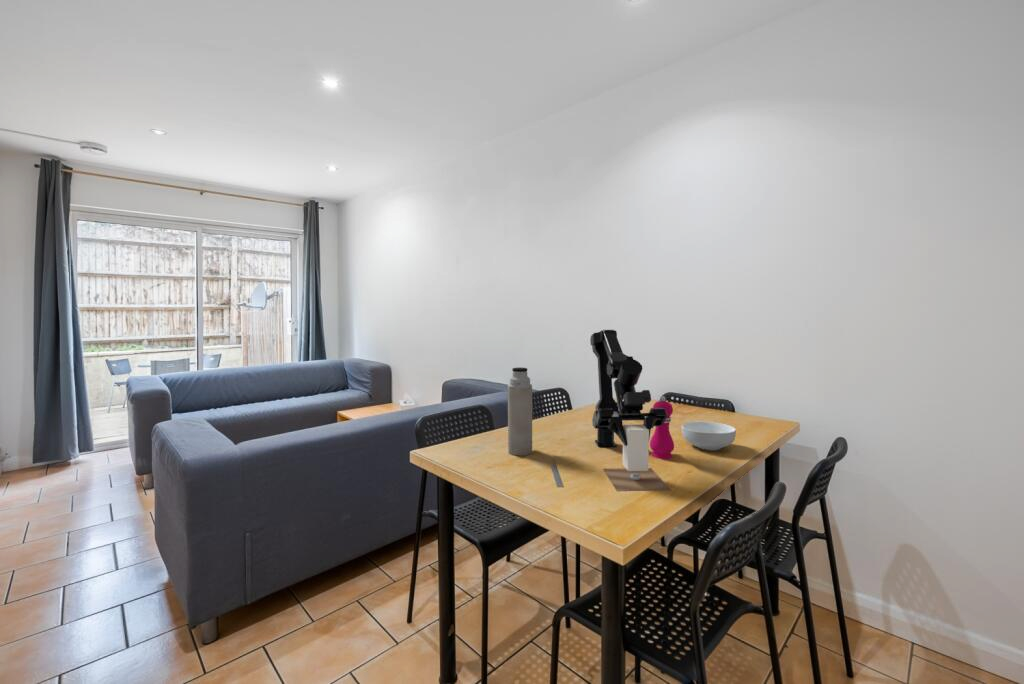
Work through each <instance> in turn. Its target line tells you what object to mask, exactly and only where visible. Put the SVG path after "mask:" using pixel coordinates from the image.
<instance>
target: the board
mask: <svg viewBox="0 0 1024 684" xmlns="http://www.w3.org/2000/svg"><path fill="white" fill-rule="evenodd" d="M602 470H603V472H604V474H606V476H607V478H608V479H609V481H610V482H611V484H612V486H613V487H614V489H615V491H616V492H642V491H643V492H644V491H645V492H649V491H650V492H651V491H652V492H653V491H659V492H660V491H662V492H663V491H672V489H671V488H670V486H668V485H667V484H666V482H665V481H663V479H662V478H661V477H660V476H659V475H658V474H657V473H656V472H655V471H654V470H653V468H652V467H648V471H628V470H627V469H626V468H625V467H624V468H619V467H618V468H602ZM631 474H639V475H640V480H632V479H631Z"/></svg>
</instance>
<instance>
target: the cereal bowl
mask: <svg viewBox="0 0 1024 684" xmlns="http://www.w3.org/2000/svg"><path fill="white" fill-rule="evenodd" d="M680 429H681V435H682V437H683V439H685V441H686V442H688V443H689V444H691V445H693V446H695V447H696V448H697V447H698V449H700V448H701V450H704V449H706V450H705V451H719V450H721V449H722V448H725V447H728V446H730V445H732V444H733V443H734V441H735V439H736V435H737V433H736V432H737V430H736V428H735V427H734V426H732V425H729V424H725V423H720V422H715V421H714V422H713V421H701V420H700V421H698V420H697V421H689V422H688V421H687V422H685V423H684V422H683V423H682V424H681V428H680Z"/></svg>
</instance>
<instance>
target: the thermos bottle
mask: <svg viewBox="0 0 1024 684" xmlns="http://www.w3.org/2000/svg"><path fill="white" fill-rule="evenodd" d="M507 442H508V443H507V452H508V454H510V455H512V454H513V455H512V456H517V455H523V456H527V455H528V454H529V455H531V454H532V453H533V384H532V383H531V378H530V377H529V376H528V368H527V367H513V368H512V376H511V377H510V378H509V384H508V385H507Z"/></svg>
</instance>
